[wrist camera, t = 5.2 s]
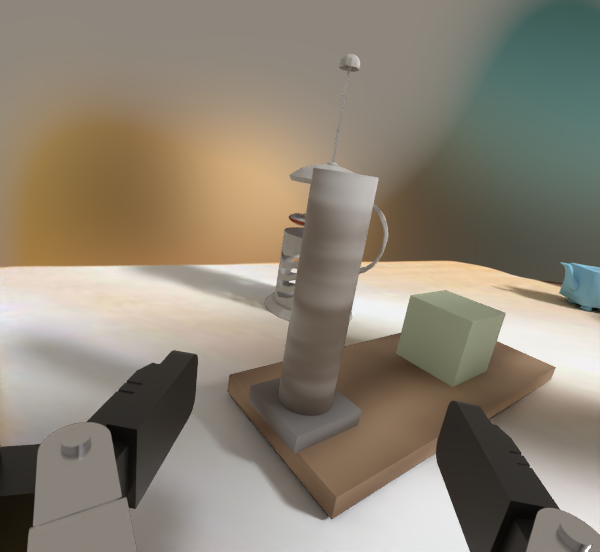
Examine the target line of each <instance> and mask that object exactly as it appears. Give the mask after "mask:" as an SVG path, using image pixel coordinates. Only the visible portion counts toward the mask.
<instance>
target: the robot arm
mask: <svg viewBox="0 0 600 552" xmlns="http://www.w3.org/2000/svg"><path fill="white" fill-rule="evenodd" d="M197 366H198V357H197V355H196V354H191V353H186V352H180V351H172V352H171V353H170V354H169V355H168V356H167V357H166V358H165V359H164V360H163V361H162V363H161V364H155V363H151V364H149V365H147V366H145V367H143V368H141V369H139V370H137V371H136V372H135V373H134V374H133V375H132V376H131V377H130V379H129V380H128V381H127V383H125V384H124V385H123V386H122V387H121V388H120V389H119V391H118V392H116V393H115V394H114V395H113V396H112V397H111V398H110V399H109V400H108V401H107V402H106V403H105V404H104V405H103V406H102V407H101V408H100V409H99V410H98V411H97V412H96V413H95V414H94V415H93V416H92V417H91V418H90V419H89V420H88V421H87V422H83V423H76V424H72V425H68V426H66V427H63V428H61V429H59V430H57V431H55V432H53V433H52V434H51V435H49V436H48V437H47V438H46V439H45V440H44V441H43V442H42V443H41V444H36V445H22V446H7V447H0V552H137V549H136V543H135V538H134V533H133V527H132V522H131V517H130V512H129V508H133V509H136V507H137V505H138V504H139V502H140V500H141V499H142V497H143V495H144V493H145V492H146V490H147V488H148V487H149V485H150V483H151V482H152V480H153V478H154V476H155V475H156V473H157V471H158V470H159V468H160V466H161V464H162V463H163V461H164V459H165V458H166V456H167V454H168V452H169V451H170V449H171V447H172V446H173V444H174V442H175V440H176V439H177V437H178V435H179V434H180V432H181V430H182V428H183V427H184V425H185V423H186V422H187V420H188V418H189V416H190V414H191V412H192V409H193V405H194V401H195V392H196V379H197ZM436 458H437V463H438V466H439V469H440V471H441V474H442V477H443V480H444V482H445V485H446V488H447V490H448V493H449V496H450V499H451V501H452V504H453V507H454V509H455V512H456V515H457V517H458V520H459V523H460V526H461V528H462V531H463V534H464V536H465V539H466V542H467V545H468V547H469V550H470V552H600V535H599V534H598V533H597V532H596V531H595V530H594V529H593V528H591V527H590V526H589V525H588V524H586V523H585V522H583V521H582V520H580V519H579V518H577V517H575V516H573V515H572V514H569V513H567V512H565V511H562V510H560V509H559V507H558V506H557V504H556V503H555V502H554V500H553V499H552V497H551V496H550V494H549V493H548V491H547V490H546V488H545V487H544V485H543V484H542V483H541V481H540V480H539V478H538V477H537V475H536V474H535V472H534V471H533V469H532V468H530V467H529V466H530V465H529V463H528V462H527V461H526V459H525V458H524V456H521V452H520V450H519V449H518V447H517V446H516V444H515V443H514V442H513V440H512V439H511V438H510V437H509V436H508V435H507V434H506V433H505V432H503V431H502V430H501V429H500V428H499V427H498V426H497V425H493V424H491V422H490V421H489V419H488V418H487V416H486V415H485V413H484V412H483V410H482V408H481V407H480V406H479V405H476V404H471V403H465V402H459V401H451V402H450V403H449V405H448V408H447V411H446V414H445V418H444V421H443V424H442V427H441V430H440V434H439V437H438V440H437V445H436Z"/></svg>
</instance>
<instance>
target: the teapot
mask: <svg viewBox="0 0 600 552" xmlns="http://www.w3.org/2000/svg"><path fill="white" fill-rule="evenodd" d="M560 263H561V264H563V265H564V267H565V270H566V274H565V279H564V282H563V284H562V287H561V290H560V292H559V293H560V294H561V295H563V296H565V297H567V298H569V300H567V301H568V302H570V303H574V304H580V305H582V306H581V307H580V309H582V310H585V311H590V312H591V310H592V307H594V308H600V268H598V267H593V266H586V265H581V264H575V263H570V264H567V263H562V262H560Z"/></svg>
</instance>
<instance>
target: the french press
mask: <svg viewBox="0 0 600 552" xmlns="http://www.w3.org/2000/svg"><path fill="white" fill-rule="evenodd" d="M339 67H340V69H342V70H345V71H347V78H346V83H345V89H344V95H343V101H342V107H341V113H340V119H339V125H338V130H337V136H336V142H335V148H334V154H333V160H332V162H330V163H328V164H321V165H311V166H307V167H303V168H300V169H299V170H297V171H295V172H294V173H292V174H290V178H291V180H294V181H299V182H303V183H309V184H311V180H312V173H313V168H320V169H327V170H334V171H340V172H347V173H353V172H351V171H350V170H347V169H344V168H342V167H339V166H338V164H336V163H334V161H335V155H336V149H337V143H338V137H339V132H340V126H341V120H342V114H343V108H344V102H345V96H346V90H347V84H348V79H349V73H350V71H352V72H355V71H359V67H360V60H359V59H358V57H357V56H355V55H352V54H347V55H346V56H344V57H343V58H342V59H341V61H340V66H339ZM353 174H355V173H353ZM372 209H374V210H375V211H376V213H377V214H378V215H379V217H380V219H381V221H382V225H383V230H384V240H383V244H382V247H381V251H380V254H379V256H378V257H377V258H376V260H375V261H374V262H373V263H371V264H370V265H368V266H366V267H363V268H360V271H359V274H360V273H364V272H366V271H368V270H369V269H371V268H373V267H374V266H375V264H376V263H377V262H378V261H379V259H380V257H381V256H382V253H383V252H384V249H385V246H386V242H387V239H388V227H387V223H386V218H385V216H384V215H383V213H382V212H381V211H380V209H378V207H376V206H375V205H374V204H373V208H372ZM305 218H306V214H301V215H300V214H299V213H298V214H297V213H295V214H291V215H290V216H289V219H290V220H291V221H292V222H294V223H296V224H298V225H301V226H304V225H305ZM303 231H304V228H286V229H285V230H284V236H283V243H282V251H281V257H280V264H279V271H278V278H277V285H276V292H274V293H273V294H271V295H270V296H269V297H268V298H267V299H266V301H265V302H264V303H265V305H266V307H267V309H268V310H269V311H270V312H272V313H273V314H275V315H276V316H278V317H280V318H283V319H285V320H288V321H290V315H291V308H292V302H293V295H294V289H295V284H294V283H289V281H292V280H296V276H297V273H292V272H290V271H291V269H292V268H296V269H298V263H299V261H295V262H292V258H293V257H296V258H299V257H300V250H301V244H302V237H303ZM361 270H363V271H361ZM351 319H352V312H351V315H350V320H351ZM350 320H349V321H350Z"/></svg>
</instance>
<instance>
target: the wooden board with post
mask: <svg viewBox="0 0 600 552" xmlns="http://www.w3.org/2000/svg"><path fill="white" fill-rule="evenodd" d="M377 183H378V178H376V177H371V176H365V175H359V174H353V173H347V172H340V171H334V170H327V169H320V168H313V173H312V180H311V187H310V192H309V199H308V205H307V212H306V218H305V225H304V231H303V237H302V244H301V250H300V257H299V263H298V270H297V276H296V282H295V289H294V295H293V302H292V308H291V315H290V321H289V327H288V334H287V340H286V347H285V353H284V360H283V362H280V363H276V364H272V365H267V366H263V367H259V368H255V369H251V370H247V371H243V372H239V373H235V374H231V375H229V383H228V392H229V394H230V395H231V396H232V397H233V399H234V400H235V401H236V402H237V404H238V405H239V406H240V407H241V408H242V410H243V411H244V412H245V413H246V415H247V416H248V417H249V418H250V419H251V421H252V422H253V423H254V424H255V426H256V427H257V428H258V429H259V431H260V432H261V433H262V434H263V435H264V437H265V438H266V439H267V440H268V442H269V443H270V444H271V445H272V447H273V448H274V449H275V450H276V451H277V453H278V454H279V455H280V456H281V458H282V459H283V460H284V461H285V463H286V464H287V465H288V466H289V467H290V469H291V470H292V471H293V472H294V474H295V475H296V476H297V477H298V479H299V480H300V481H301V482H302V483H303V485H304V486H305V487H306V488H307V490H308V491H309V492H310V493H311V495H312V496H313V497H314V498H315V499H316V501H317V502H318V503H319V504H320V506H321V507H322V508H323V509H324V511H325V512H326V513H327V514H328V515H329V517H330V518H331V519H333V518H334V517H336V516H338V515H339V514H341V513H342V512H344V511H345V510H347V509H349V508H350V507H352V506H353V505H355V504H356V503H358V502H360V501H361V500H363V499H364V498H366V497H367V496H369V495H371V494H372V493H374V492H375V491H377V490H378V489H380V488H382V487H383V486H385V485H386V484H388V483H389V482H391V481H392V480H394V479H396V478H397V477H399V476H400V475H402V474H403V473H405V472H407V471H408V470H410V469H411V468H413V467H414V466H416V465H418V464H419V463H421V462H422V461H424V460H425V459H427V458H429V457H430V456H432V455H433V454H435V453H436V445H437V440H438V437H439V434H440V430H441V427H442V424H443V421H444V418H445V414H446V411H447V408H448V405H449V403H450V402H451V401H459V402H465V403H471V404H476V405H479V406H480V407H481V408H482V410H483V412H484V413H485V415H486V416H487V418H488V419H490V418H491V417H493V416H494V415H496V414H498V413H499V412H501V411H502V410H504V409H505V408H507V407H509V406H510V405H512V404H513V403H515V402H516V401H518V400H520V399H521V398H523V397H524V396H526V395H527V394H529V393H530V392H532V391H534V390H535V389H537V388H538V387H540V386H541V385H543V384H545V383H546V382H548V381H549V380H551V378H552V375H553V373H554V370H555V368H556V367H553V366H551V365H549V364H547V363H545V362H542V361H540V360H538V359H536V358H533V357H531V356H529V355H527V354H524V353H522V352H520V351H518V350H515V349H513V348H511V347H509V346H506V345H504V344H502V343H500V342H497V341H496V344H495V347H494V350H493V353H492V356H491V359H490V362H489V365H488V368H487V371H486V372H484V373H482V374H480V375H478V376H476V377H473V378H471V379H469V380H467V381H465V382H462V383H460V384H458V385H456V386H454V387H452V386H450V385H448V384H447V383H445V382H443V381H442V380H440V379H438V378H436V377H435V376H433V375H431V374H430V373H428V372H426V371H425V370H423V369H421V368H420V367H418V366H416V365H415V364H413V363H411V362H410V361H408V360H406V359H404V358H403V357H401V356H399V355H398V354H396V351H397V348H398V344H399V340H400V336H401V333H398V334H394V335H390V336H386V337H382V338H378V339H374V340H370V341H366V342H361V343H357V344H353V345H349V346H345V347H344V344H345V339H346V334H347V329H348V324H349V320H350V315H351V310H352V305H353V300H354V295H355V290H356V286H357V281H358V276H359V271H360V266H361V261H362V256H363V252H364V246H365V242H366V237H367V232H368V227H369V222H370V218H371V213H372V208H373V203H374V198H375V193H376V188H377Z"/></svg>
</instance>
